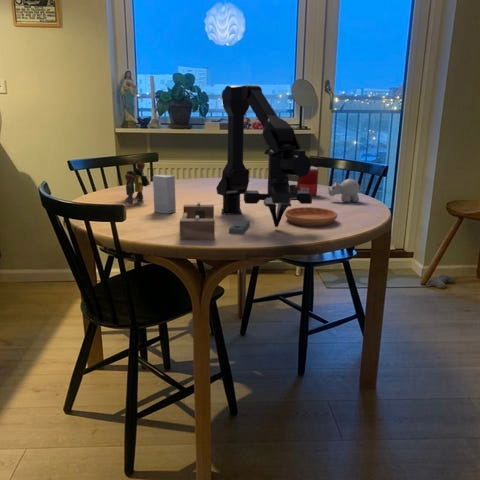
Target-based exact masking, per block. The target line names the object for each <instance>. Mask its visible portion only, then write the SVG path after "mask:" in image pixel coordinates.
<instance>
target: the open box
mask: <svg viewBox="0 0 480 480" xmlns="http://www.w3.org/2000/svg"><path fill="white" fill-rule="evenodd" d="M182 213H183V214H182V216H181V218H180V219H179V240H180V241H192V240H194V241H196V240H198V241H200V240H201V241H205V240H206V241H207V240H209V241H214V240H215V237H216V236H215V235H216V234H215V232H216V230H215V228H216V227H215V224H216V223H215V206H214V204H201V202H200V201H197V204H183V212H182Z"/></svg>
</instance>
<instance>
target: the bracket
mask: <svg viewBox="0 0 480 480" xmlns="http://www.w3.org/2000/svg"><path fill="white" fill-rule="evenodd" d="M250 223H251V221H250V220H247V219H245V220H243V219H237V220H235V222H234V223H232V224H231V226H230V227H229V228H228V234H234V235H243V234H244V233H245V232H246V231H247V229H248V228H250V226H251V224H250Z"/></svg>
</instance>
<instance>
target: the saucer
mask: <svg viewBox="0 0 480 480" xmlns="http://www.w3.org/2000/svg"><path fill="white" fill-rule="evenodd" d="M284 215H285V217H286V218H287V220H288V221H290V223H292V224H295V225H299V226H304V227H305V226H306V227H307V226H308V227H323V226H328V225H330V224H332V223H333V222H335V220H336V219H337V218H338V213H337V212H336V211H334V210H332V209H328V208H322V207H311V206H310V207H308V206H305V207H304V206H303V207H292V208H290V209H286V210H285V211H284Z"/></svg>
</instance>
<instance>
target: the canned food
mask: <svg viewBox="0 0 480 480" xmlns="http://www.w3.org/2000/svg"><path fill="white" fill-rule="evenodd" d="M318 181H319V168H318V167H316V166H311V168H310V171H309V173H308V174H307V175H306V176H304V177H299V176H297V184H296V185H297V186H298V191H308V192H309V193H310V194H311V195H312V197H316V196H317V194H318V183H319V182H318ZM315 195H316V196H315Z"/></svg>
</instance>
